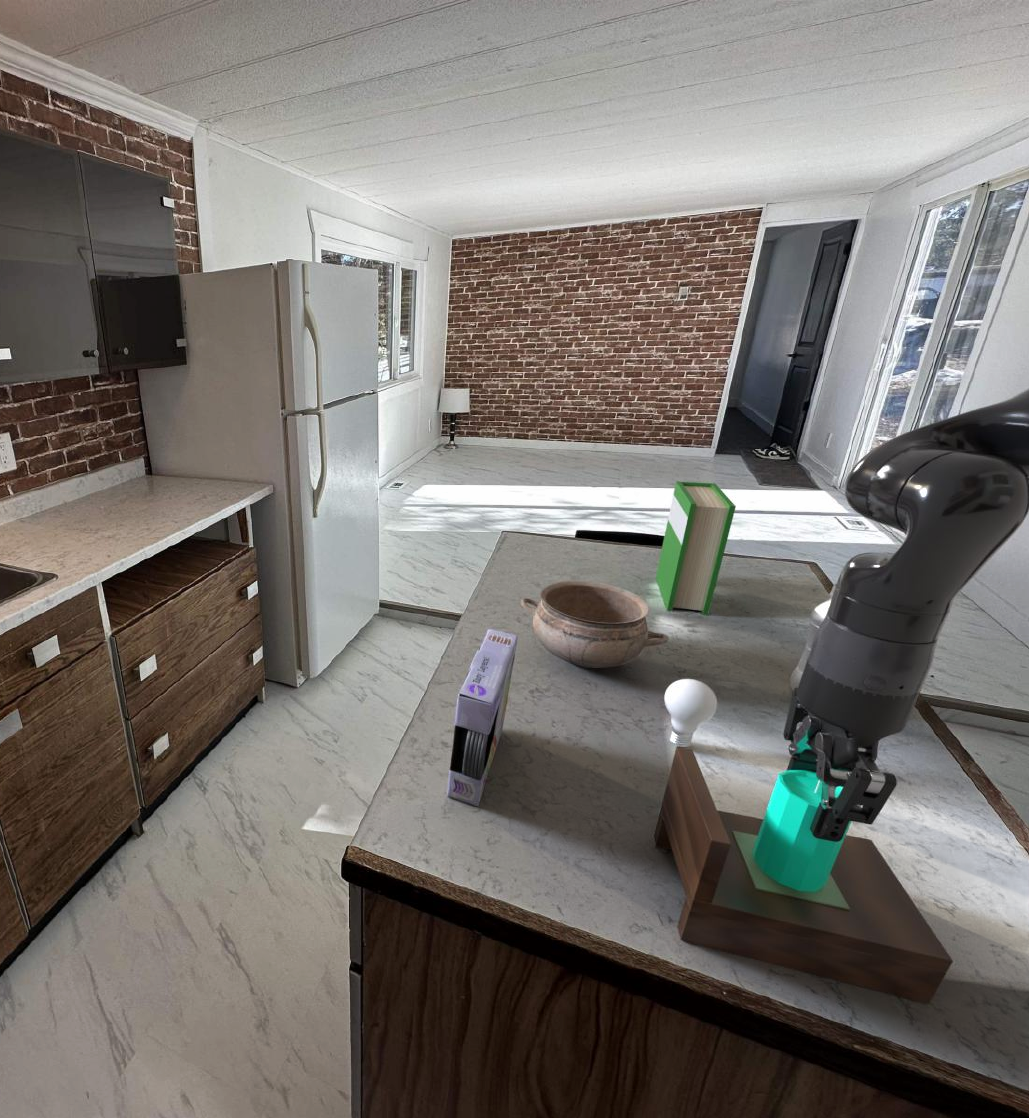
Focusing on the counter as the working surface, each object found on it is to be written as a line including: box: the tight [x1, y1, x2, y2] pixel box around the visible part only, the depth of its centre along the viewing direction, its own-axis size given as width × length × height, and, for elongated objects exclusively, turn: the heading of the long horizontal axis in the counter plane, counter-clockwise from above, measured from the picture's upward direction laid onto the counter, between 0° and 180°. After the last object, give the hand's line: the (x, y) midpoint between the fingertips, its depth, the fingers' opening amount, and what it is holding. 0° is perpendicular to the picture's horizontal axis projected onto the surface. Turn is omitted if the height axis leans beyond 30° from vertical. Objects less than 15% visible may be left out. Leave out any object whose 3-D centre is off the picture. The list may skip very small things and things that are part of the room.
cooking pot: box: [520, 580, 670, 669], centre depth 109 cm, size 25×19×12 cm
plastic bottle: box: [789, 583, 837, 692], centre depth 94 cm, size 6×7×20 cm
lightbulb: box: [663, 678, 718, 748], centre depth 87 cm, size 6×6×11 cm
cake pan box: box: [446, 628, 519, 807], centre depth 84 cm, size 19×5×18 cm, turn 151°
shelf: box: [652, 746, 954, 1005], centre depth 62 cm, size 20×14×14 cm
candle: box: [753, 769, 852, 892], centre depth 60 cm, size 6×6×12 cm
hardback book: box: [655, 480, 736, 616], centre depth 129 cm, size 18×7×24 cm, turn 157°
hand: (809, 811), depth 59 cm, fingers closed on candle, 6 cm apart
